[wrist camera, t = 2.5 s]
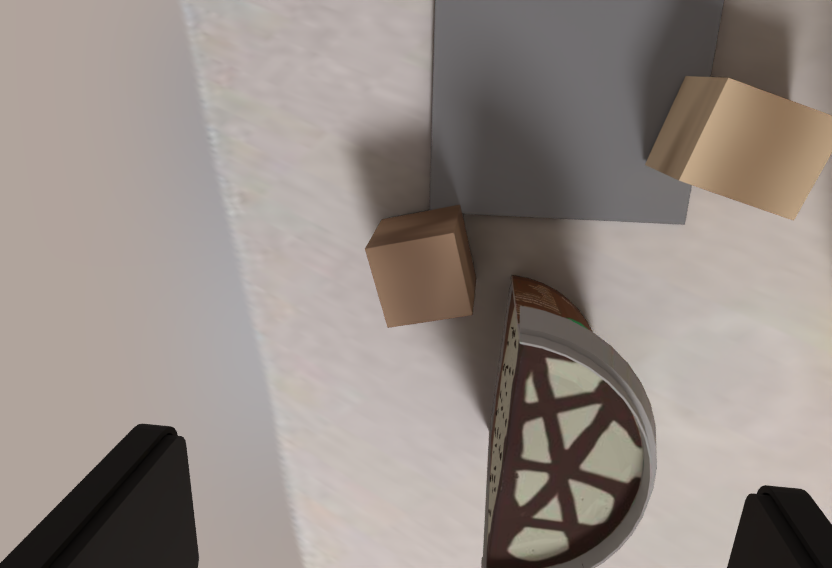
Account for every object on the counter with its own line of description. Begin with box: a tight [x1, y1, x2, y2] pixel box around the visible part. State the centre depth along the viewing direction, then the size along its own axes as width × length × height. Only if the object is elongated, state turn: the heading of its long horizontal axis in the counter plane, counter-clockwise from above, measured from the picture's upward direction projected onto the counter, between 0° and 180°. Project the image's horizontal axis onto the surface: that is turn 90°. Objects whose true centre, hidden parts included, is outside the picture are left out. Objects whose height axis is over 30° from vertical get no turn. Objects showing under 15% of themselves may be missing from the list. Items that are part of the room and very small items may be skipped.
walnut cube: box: [365, 205, 476, 328], centre depth 29 cm, size 4×4×4 cm
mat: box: [430, 0, 724, 225], centre depth 26 cm, size 12×16×1 cm
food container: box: [481, 275, 657, 568], centre depth 27 cm, size 12×6×10 cm, turn 175°
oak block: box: [645, 76, 832, 220], centre depth 25 cm, size 5×4×4 cm
